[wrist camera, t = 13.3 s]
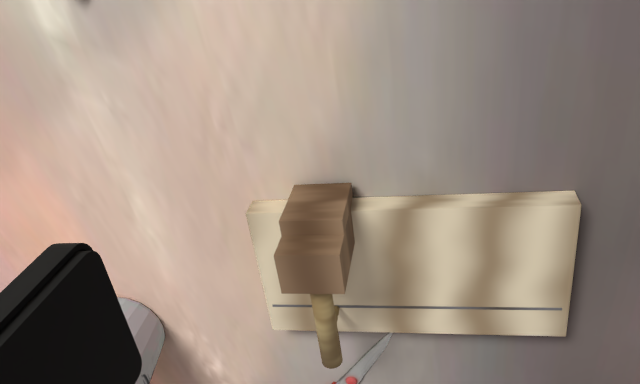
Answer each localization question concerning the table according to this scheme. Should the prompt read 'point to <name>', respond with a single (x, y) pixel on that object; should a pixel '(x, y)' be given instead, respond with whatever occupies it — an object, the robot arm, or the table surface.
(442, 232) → the maple board
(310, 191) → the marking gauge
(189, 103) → the table surface
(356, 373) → the scissors
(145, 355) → the mug
